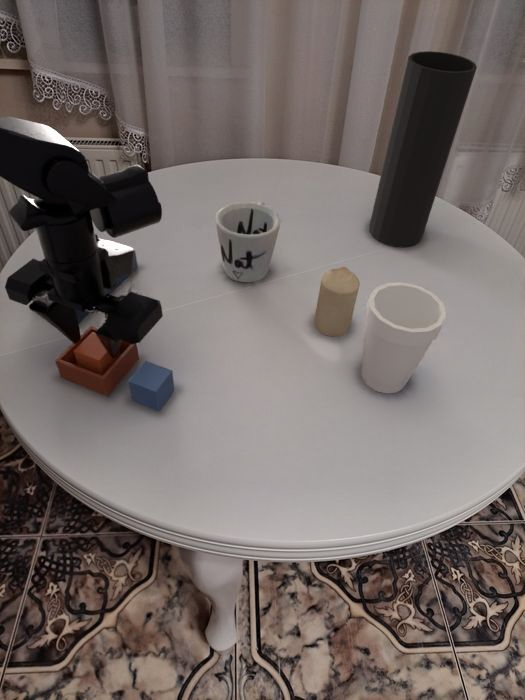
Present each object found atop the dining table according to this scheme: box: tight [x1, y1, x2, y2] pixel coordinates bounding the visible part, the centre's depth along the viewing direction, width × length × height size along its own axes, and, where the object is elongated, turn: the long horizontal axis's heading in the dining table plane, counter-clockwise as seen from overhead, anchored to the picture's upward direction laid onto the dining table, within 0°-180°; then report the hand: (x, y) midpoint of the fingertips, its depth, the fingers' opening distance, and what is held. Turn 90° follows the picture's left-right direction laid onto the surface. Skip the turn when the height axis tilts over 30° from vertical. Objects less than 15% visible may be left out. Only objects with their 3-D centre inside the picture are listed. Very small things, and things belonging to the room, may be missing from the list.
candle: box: [313, 266, 361, 337], centre depth 75 cm, size 6×6×10 cm
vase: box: [368, 50, 478, 248], centre depth 88 cm, size 10×10×30 cm
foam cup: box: [361, 281, 447, 394], centre depth 67 cm, size 10×9×13 cm
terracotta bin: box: [54, 325, 140, 398], centre depth 69 cm, size 8×8×3 cm
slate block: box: [128, 360, 175, 412], centre depth 66 cm, size 4×4×4 cm
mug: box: [214, 201, 282, 283], centre depth 86 cm, size 10×15×10 cm
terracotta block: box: [74, 332, 120, 376], centre depth 68 cm, size 4×4×4 cm
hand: (96, 348), depth 67 cm, fingers open, 6 cm apart
